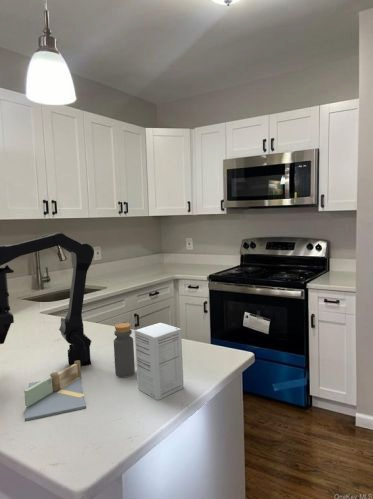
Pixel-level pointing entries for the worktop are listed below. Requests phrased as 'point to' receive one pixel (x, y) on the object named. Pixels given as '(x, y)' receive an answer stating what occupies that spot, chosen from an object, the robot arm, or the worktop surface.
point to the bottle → (124, 351)
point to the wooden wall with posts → (65, 376)
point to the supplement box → (159, 360)
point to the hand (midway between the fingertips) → (1, 341)
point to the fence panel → (38, 391)
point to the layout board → (58, 401)
